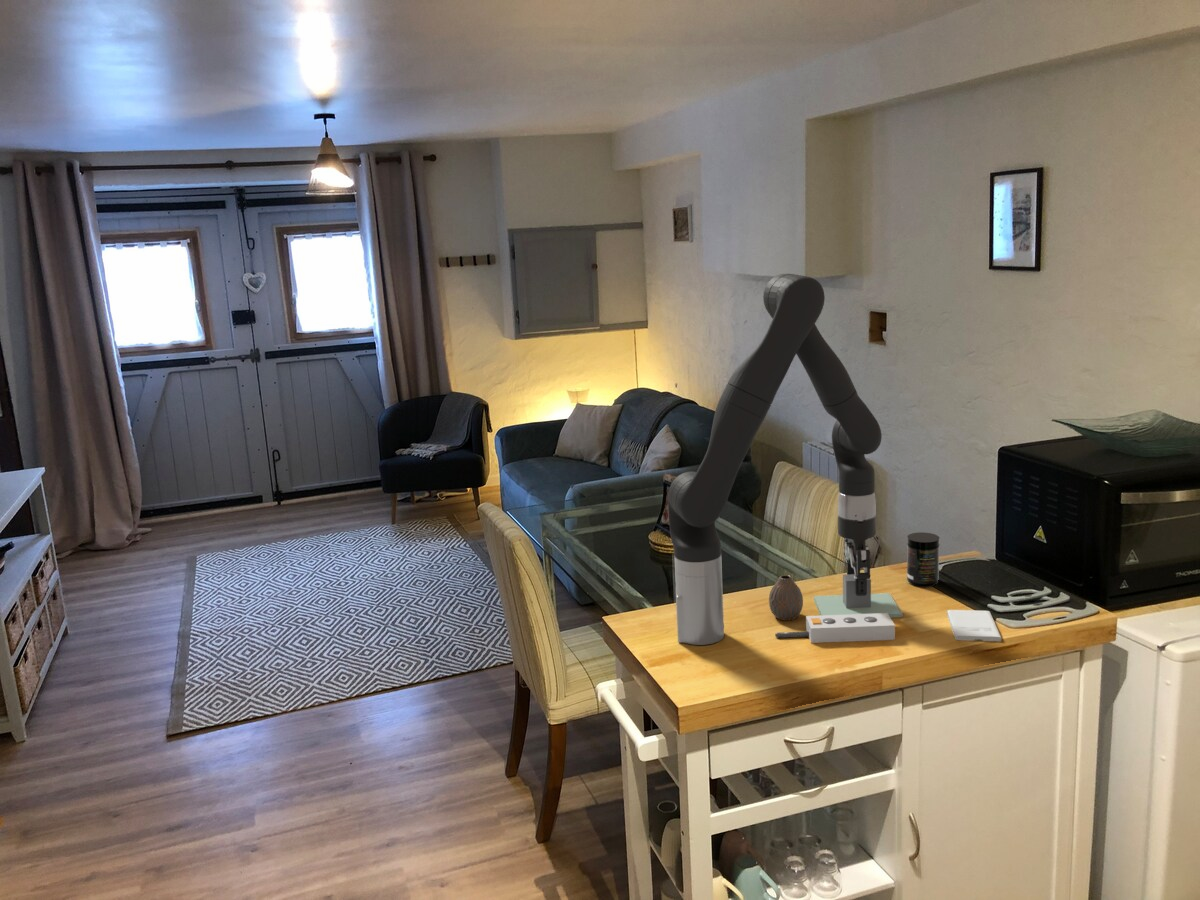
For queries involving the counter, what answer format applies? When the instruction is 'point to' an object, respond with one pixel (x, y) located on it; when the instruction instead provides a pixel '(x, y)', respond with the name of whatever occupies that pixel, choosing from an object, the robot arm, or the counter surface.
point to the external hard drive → (973, 625)
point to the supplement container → (923, 559)
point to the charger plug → (849, 593)
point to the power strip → (846, 628)
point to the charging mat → (837, 607)
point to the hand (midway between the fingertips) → (856, 587)
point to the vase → (785, 599)
